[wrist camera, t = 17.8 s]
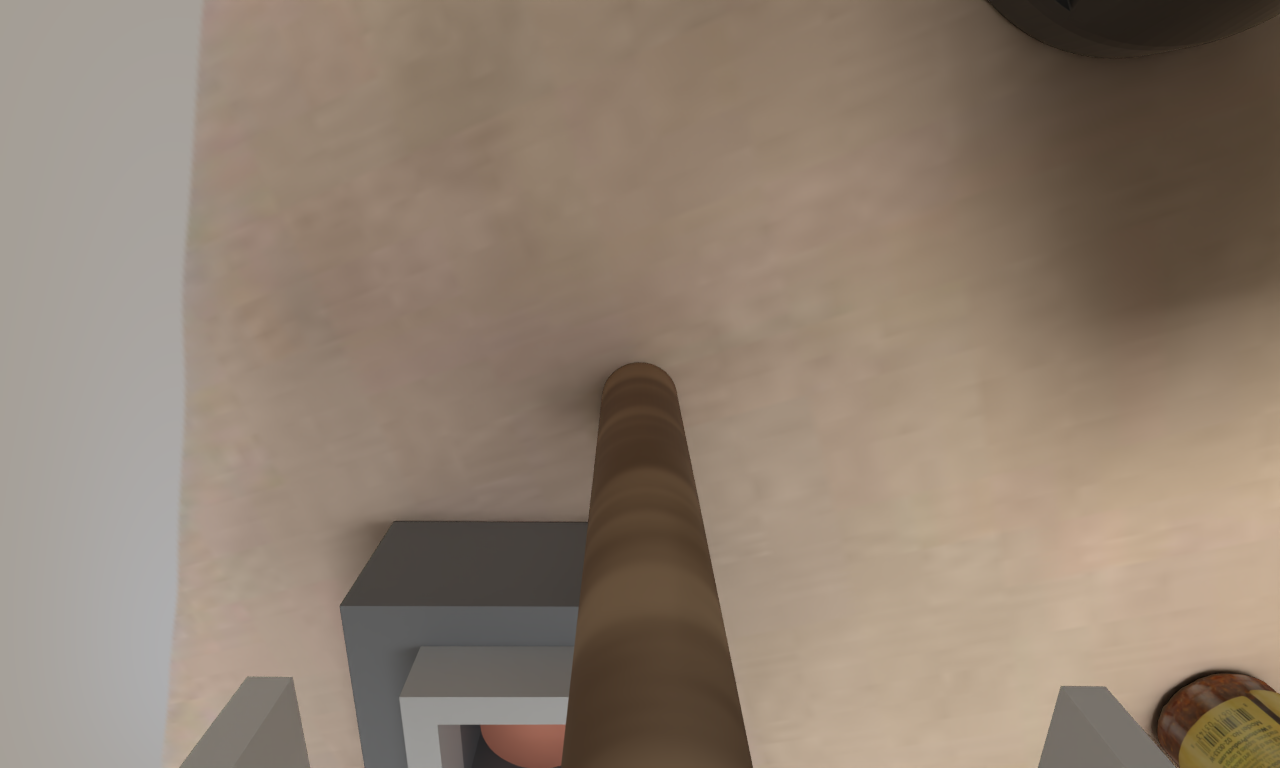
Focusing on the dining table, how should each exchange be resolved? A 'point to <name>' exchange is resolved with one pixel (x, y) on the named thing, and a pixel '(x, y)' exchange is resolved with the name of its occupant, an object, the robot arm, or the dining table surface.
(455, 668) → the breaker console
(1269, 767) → the sauce bottle
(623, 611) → the walnut dowel
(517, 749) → the plunger
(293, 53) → the dining table surface
